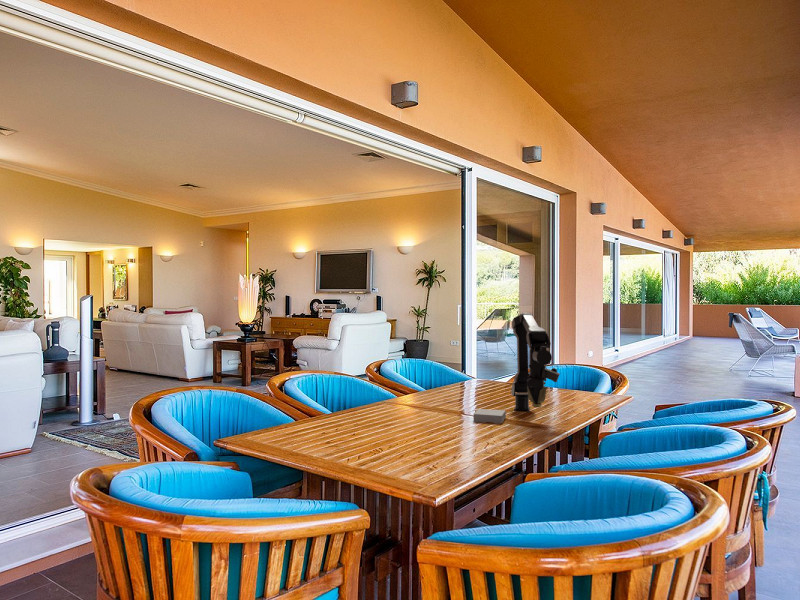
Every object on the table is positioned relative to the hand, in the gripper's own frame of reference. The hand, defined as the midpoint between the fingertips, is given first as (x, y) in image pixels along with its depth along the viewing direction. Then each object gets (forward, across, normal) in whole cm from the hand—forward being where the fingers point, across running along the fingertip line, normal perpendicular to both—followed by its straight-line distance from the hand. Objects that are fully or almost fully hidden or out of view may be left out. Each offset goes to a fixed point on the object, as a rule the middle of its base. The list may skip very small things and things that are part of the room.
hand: (536, 402), depth 223 cm
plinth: (+8, -2, +18) cm, 20 cm away
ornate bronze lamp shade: (+2, 0, 0) cm, 2 cm away
